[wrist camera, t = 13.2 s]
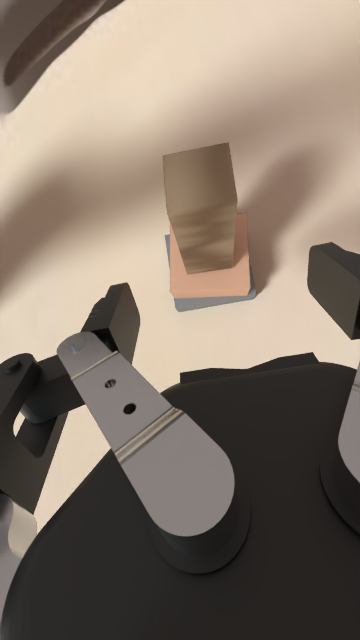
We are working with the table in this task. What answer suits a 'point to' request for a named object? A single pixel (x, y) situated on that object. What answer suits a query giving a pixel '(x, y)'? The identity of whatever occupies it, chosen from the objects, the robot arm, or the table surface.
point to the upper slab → (213, 281)
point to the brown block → (202, 206)
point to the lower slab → (204, 302)
